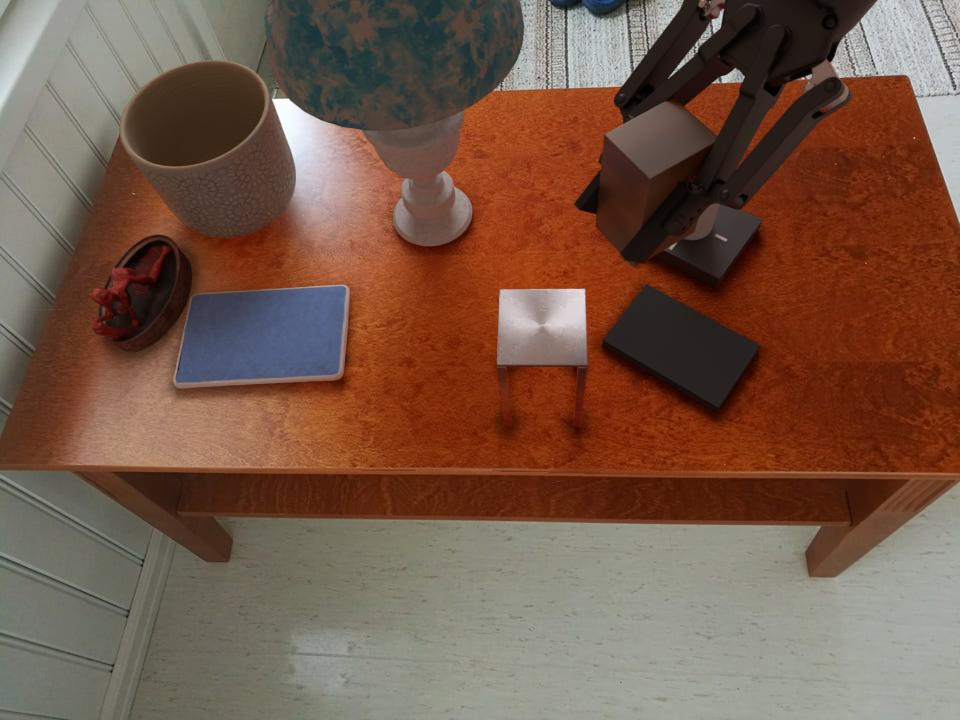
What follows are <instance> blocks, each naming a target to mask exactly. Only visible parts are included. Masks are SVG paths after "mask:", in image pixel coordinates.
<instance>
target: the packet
mask: <svg viewBox="0 0 960 720" xmlns="http://www.w3.org/2000/svg"><path fill="white" fill-rule="evenodd" d="M622 124H623V123H622ZM622 124H620V125H619V126H617V127H615V128H613V129H612V130H609V131H608V132H606V133H605V134H603V142H602V152H601V154H602V162H601V164H600V169H601V173H600V183H599V194H598V205H597V214H595V215H596V216H595V229H597V230H598V231H599V232H600V233H601V234H602V235H603V237H605V239H606V240H607V241H608V242H609V243H610V244H611V245H612V246H613V247H614V249H616V251H618V253H619V254H620V253H621V251H622V250H623V249H624V248H625V247H626V245H627V244H628V243H629V242H630V241H631V240H632V238H633V237H634V236H635V235H636V234H637V232H638V231H639V230H640V229H641V228H642V227H643V225H644V224H645V223H646V222H647V221H648V219H649V218H650V217H651V216H652V215H653V214H654V212H655V211H656V210H657V209H658V208H659V206H660V205H661V204H662V203H663V202H664V200H665V199H666V198H667V197H668V196H669V194H670V193H671V192H672V191H673V190H674V188H675V187H676V186H677V185H678V184H679V183H683V184H685V185H687V182H691V183H693V181H694V180H695V178H696V176H697V174H698V172H699V170H700V168H701V166H702V164H703V163H704V161H705V159H706V157H707V155H708V153H709V151H710V149H711V148H712V146H713V144H714V142H715V140H716V138H717V136H718V135H717V134H716V133H715V132H713V131H712V130H711V129H710V128H709V127H708V126H707V125H706V124H705V123H703V122H702V121H701V120H700V119H699V118H698V117H697V116H696V115H694V114H693V113H692V112H691V111H690V110H689V109H688V108H686V107H685V106H683V105H682V104H681V103H680V102H678V101H677V100H676V99H675V98H672V99H669V100H667V101H665V102H663V103H661V104H660V105H658V106H656V107H654V108H652V109H650V110H648V111H647V112H645V113H643V114H641V115H639V116H637V117H635V118H634V119H632V120H630V121H628V122H626V123H624V124H623V125H622ZM697 222H698V219H697V220H696V221H695V222H694V223H693V225H692V226H690V228H689V229H688V230H687V231H686V233H684V234H682V235H681V236H679V237H678V236H674V235H670V234H669V235H668V236H667V238H666V239H665V240H664V241H663V242H662V243H661V244H660V246H659V247H658V248H657V249H656V250H655V251H654V253H653V254H652V255H651V256H650V257H649V258H648V259H647V261H649V259H651V258H653V257H654V256H655V255H656V254H658V253H660V252H662V251H663V250H665V249H667V248H668V247H670V246H672V245H673V244H675V243H677V242H679V241H680V240H682V239H684V238H685V237H687V236H689V235H690V234H692V233H694V232H695V229H696V225H697ZM627 263H628V264H629V265H630V266H631V267H632V268H636V267H638V266H640V265H641V264H642V263H637V262H631V261H627Z"/></svg>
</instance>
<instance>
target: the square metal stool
mask: <svg viewBox="0 0 960 720" xmlns="http://www.w3.org/2000/svg"><path fill="white" fill-rule="evenodd" d="M586 295H587V293H586V288H521V289H519V288H514V289H513V288H512V289H511V288H509V289H508V288H506V289H503V288H501V289H499V290H498V315H497V316H498V317H497V340H496V341H497V342H496V345H497V346H496V371H497V378H498V388H499V394H500V404H501V411H502V412H501V413H502V419H503V427H504V428H511V427H512V426H513V418H512V407H511V395H510V387H509V386H510V385H509V376H508V368H577V369H576V381H575V392H574V403H573V404H574V405H573V415H572V416H573V417H572V427H573V428H582V421H583V411H584V401H585V393H586V385H587V384H586V383H587V374H588V365H589V364H588V334H587V333H588V329H587V297H586Z"/></svg>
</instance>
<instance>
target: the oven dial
mask: <svg viewBox="0 0 960 720" xmlns="http://www.w3.org/2000/svg"><path fill="white" fill-rule="evenodd" d="M719 206H720V204H718V203H714V204H712V205H710V206H709V207H708V208H707V209H706V210H705V211H704V212H703V213H702V214H701V215H700V217H699V218H698V222H697V225H696V229H695V232H694V233H692V234H690V235H689V236H687V237H685V238H684V239H686V240H698V239H702V238H704V237H706V236H707V235H708V234H709V233H710V232H711V230H712V228H713V225H714V221H715V218H716V215H717V212H718V209H719Z"/></svg>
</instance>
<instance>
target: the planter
mask: <svg viewBox="0 0 960 720" xmlns="http://www.w3.org/2000/svg"><path fill="white" fill-rule="evenodd" d="M118 127H119V128H118V129H119V130H118V131H119V138H120V142H121V145H122V146H123V148H124V150H125V152H126V153H127V155H128V156H129V158H130V159H131V161H132V162H133V163H134V164H135V166H136V167H137V168H138V170H139V171H140V173H141V174H142V175H143V176H144V178H145V179H146V180H147V182H148V184H150V185H151V187H152V188H153V190H154V191H155V192H156V193H157V195H158V196H159V197H160V199H161V201H163V203H164V205H165V206H166V207H167V208H168V210H169V211H170V212H171V213H172V214H173V215H174V216H175V217H176V218H177V219H178V220H179V221H180V222H181V223H182V224H183V225H185V226H186V227H187V228H189V229H191V230H192V231H194V232H196V233H198V234H200V235H204V236H207V237H212V238H216V239H234V238H235V239H236V238H241V237H246V236H249V235H252V234H255V233H257V232H259V231H262V230H263V229H265V228H267V227H268V226H270V225H271V224H272V223H273V222H275V221H276V220H277V219H278V218H279V217H280V216H281V215H283V213H284V212H285V210H286V209H287V207H288V205H289V204H290V202H291V200H292V198H293V195H294V193H295V188H296V184H297V183H296V182H297V170H296V163H295V160H294V156H293V152H292V150H291V147H290V144H289V142H288V139H287V136H286V134H285V131H284V128H283V124H282V122H281V120H280V116H279V114H278V112H277V109H276V105H275V103H274V101H273V98H272V96H271V94H270V91H269V89H268V86H267V84H266V83H265V81H264V79H263V78H262V77H261V76H260V75H259V74H258V73H257V72H256V71H254V70H253V69H252V68H249V67H248V66H245V65H244V64H241V63H239V62H235V61H230V60H225V59H224V60H223V59H206V60H205V59H204V60H198V61H192V62H188V63H184V64H181V65H178V66H175V67H173V68H170V69H167V70H166V71H163V72H162V73H160V74H158V75H157V76H155V77H154V78H152V79H151V80H149V81H148V82H146V83H145V84H144V85H143V86H141V87H140V89H139V88H138V90H137V91H136V92H135V93H134V95H132V97H131V98H130V100H129V101H128V102H127V104H126V106H125V107H124V109H123V111H122V114H121V117H120V120H119V126H118Z"/></svg>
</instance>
